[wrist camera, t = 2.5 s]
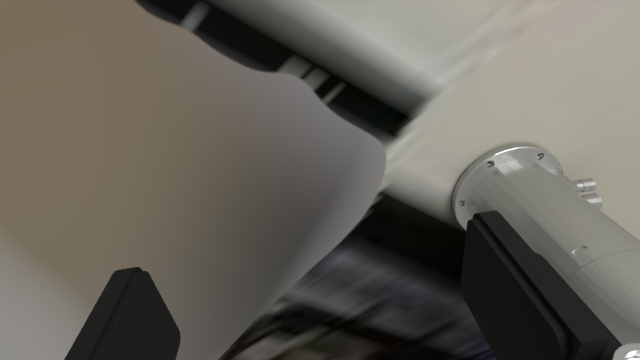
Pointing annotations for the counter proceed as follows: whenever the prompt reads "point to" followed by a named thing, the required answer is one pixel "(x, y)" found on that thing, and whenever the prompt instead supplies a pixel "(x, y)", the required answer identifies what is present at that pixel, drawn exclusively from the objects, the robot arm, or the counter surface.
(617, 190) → the counter surface
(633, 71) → the counter surface
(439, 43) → the counter surface
